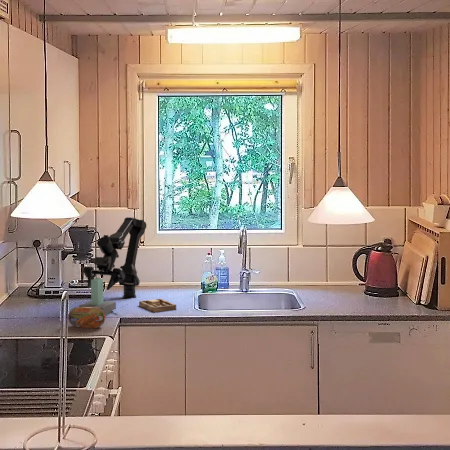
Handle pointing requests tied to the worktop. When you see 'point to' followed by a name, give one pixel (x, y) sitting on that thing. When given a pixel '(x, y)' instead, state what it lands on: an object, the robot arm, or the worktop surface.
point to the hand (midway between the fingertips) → (97, 288)
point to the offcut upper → (154, 302)
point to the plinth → (102, 306)
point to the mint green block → (96, 291)
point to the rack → (163, 306)
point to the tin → (87, 317)
